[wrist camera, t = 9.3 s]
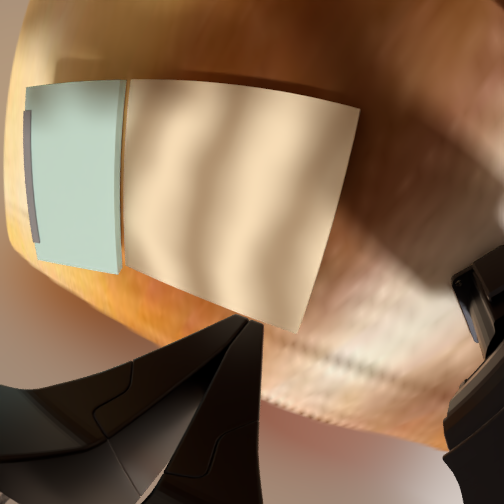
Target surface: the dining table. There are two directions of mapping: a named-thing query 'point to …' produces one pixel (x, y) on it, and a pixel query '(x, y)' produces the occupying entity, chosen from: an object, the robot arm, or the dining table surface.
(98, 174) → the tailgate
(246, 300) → the beige flat square pad
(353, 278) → the dining table surface
